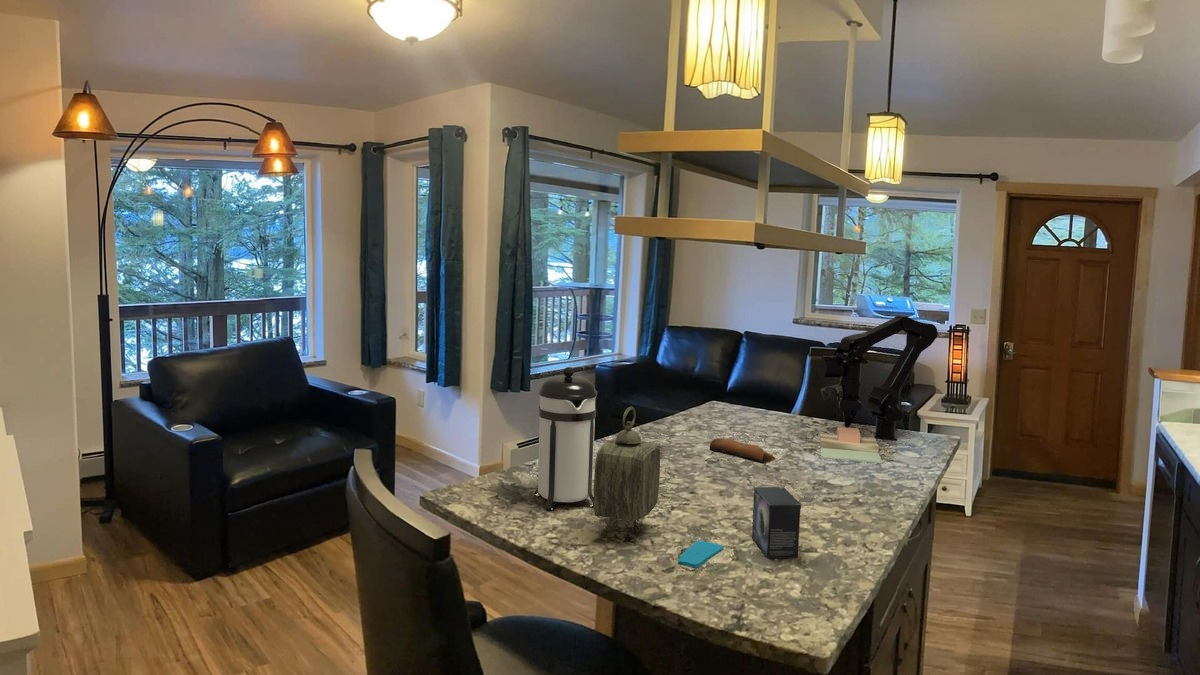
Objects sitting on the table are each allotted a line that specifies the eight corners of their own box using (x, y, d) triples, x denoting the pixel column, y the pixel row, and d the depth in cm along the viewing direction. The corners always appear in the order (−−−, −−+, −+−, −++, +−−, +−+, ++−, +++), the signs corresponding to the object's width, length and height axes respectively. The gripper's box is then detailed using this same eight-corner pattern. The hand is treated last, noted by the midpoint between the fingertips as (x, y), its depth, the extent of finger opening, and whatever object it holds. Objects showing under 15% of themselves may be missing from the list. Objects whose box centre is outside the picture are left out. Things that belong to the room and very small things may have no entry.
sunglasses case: (779, 458, 213) (774, 440, 210) (767, 475, 209) (761, 456, 206) (725, 445, 225) (720, 428, 222) (713, 461, 221) (706, 443, 218)
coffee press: (613, 497, 174) (618, 366, 170) (575, 517, 160) (579, 374, 157) (549, 484, 182) (553, 358, 179) (508, 501, 169) (511, 366, 165)
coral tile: (837, 434, 235) (837, 426, 235) (857, 436, 234) (858, 428, 233) (838, 441, 226) (838, 433, 226) (859, 443, 225) (860, 435, 225)
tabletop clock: (617, 516, 162) (622, 399, 159) (659, 523, 158) (664, 403, 156) (591, 539, 148) (596, 411, 145) (636, 547, 145) (641, 417, 142)
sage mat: (820, 449, 225) (820, 447, 225) (878, 454, 221) (878, 453, 221) (821, 457, 215) (821, 456, 215) (881, 463, 211) (881, 461, 211)
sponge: (667, 558, 139) (696, 562, 136) (696, 539, 149) (724, 542, 146) (667, 566, 139) (697, 571, 136) (696, 547, 149) (724, 550, 146)
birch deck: (819, 439, 237) (820, 433, 237) (874, 444, 233) (874, 437, 233) (820, 448, 225) (820, 441, 225) (878, 453, 221) (878, 447, 221)
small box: (749, 537, 152) (752, 485, 151) (781, 537, 153) (784, 486, 152) (765, 558, 142) (768, 503, 141) (799, 558, 142) (803, 503, 141)
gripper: (822, 371, 248) (819, 419, 250) (823, 380, 230) (820, 431, 232) (858, 374, 245) (855, 422, 247) (863, 383, 227) (859, 435, 229)
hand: (846, 427), depth 239 cm, fingers closed
